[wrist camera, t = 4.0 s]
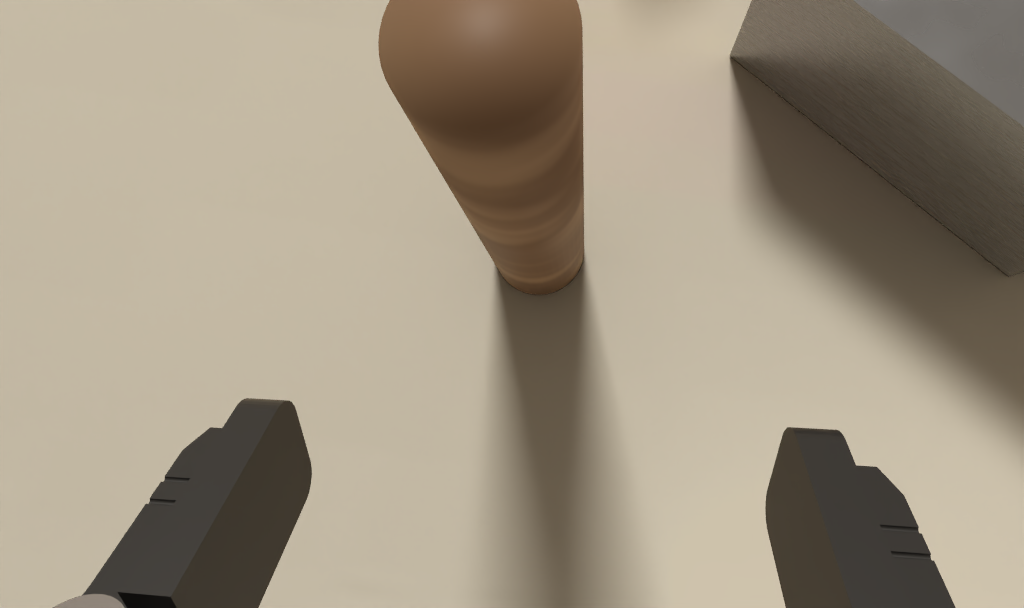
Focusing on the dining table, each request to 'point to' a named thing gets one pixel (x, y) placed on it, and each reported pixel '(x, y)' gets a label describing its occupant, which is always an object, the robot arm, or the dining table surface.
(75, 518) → the dining table surface
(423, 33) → the walnut pin
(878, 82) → the block
